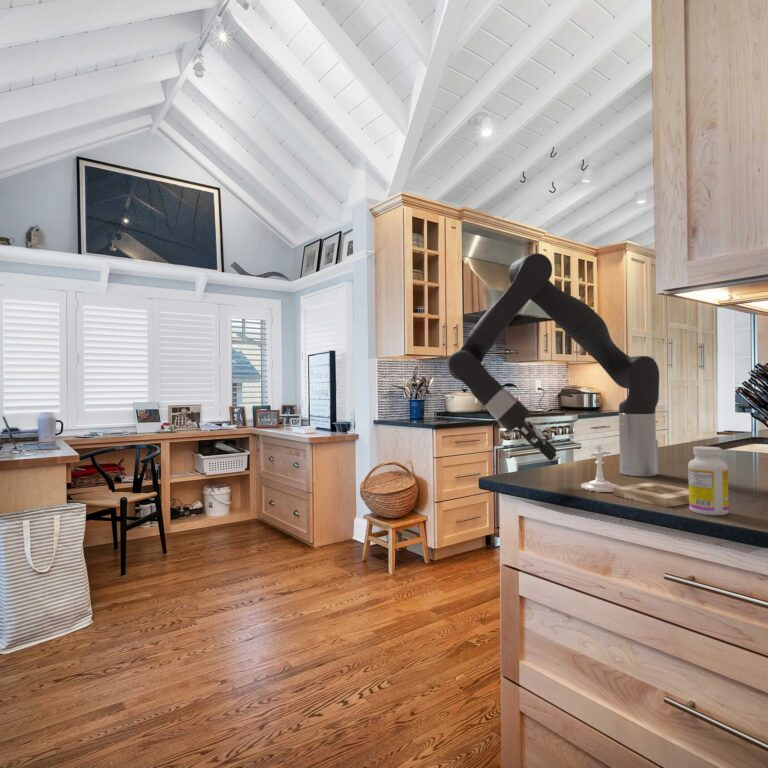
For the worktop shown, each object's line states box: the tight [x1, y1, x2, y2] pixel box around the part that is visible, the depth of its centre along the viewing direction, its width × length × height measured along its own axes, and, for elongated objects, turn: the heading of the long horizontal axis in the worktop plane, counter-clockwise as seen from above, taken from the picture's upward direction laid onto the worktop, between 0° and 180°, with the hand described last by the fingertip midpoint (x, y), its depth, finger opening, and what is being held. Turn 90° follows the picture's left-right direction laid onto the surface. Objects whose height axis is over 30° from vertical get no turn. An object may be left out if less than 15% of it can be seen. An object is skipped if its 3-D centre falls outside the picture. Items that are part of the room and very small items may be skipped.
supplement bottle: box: [687, 445, 730, 517], centre depth 100 cm, size 7×7×13 cm
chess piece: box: [588, 444, 611, 487], centre depth 124 cm, size 5×5×10 cm
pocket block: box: [612, 481, 689, 508], centre depth 113 cm, size 13×13×2 cm
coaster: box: [580, 481, 621, 493], centre depth 124 cm, size 9×9×1 cm
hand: (553, 455), depth 127 cm, fingers open, 8 cm apart
